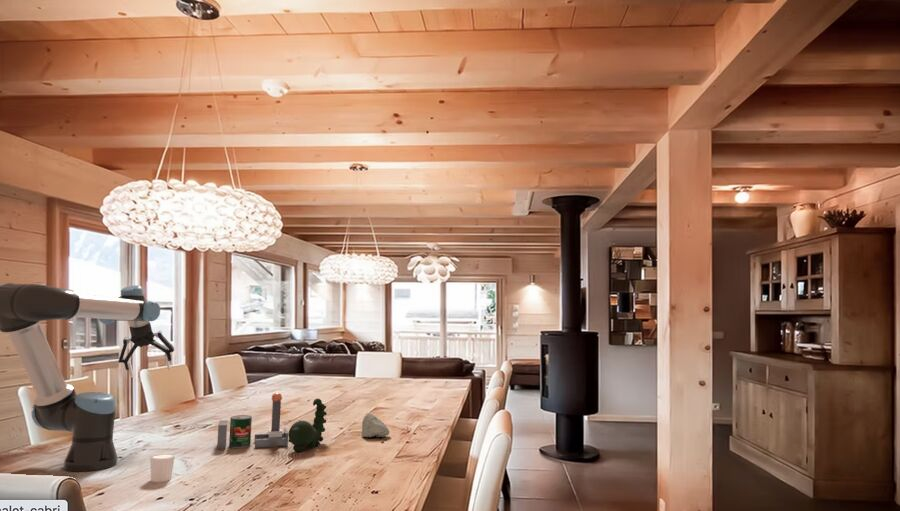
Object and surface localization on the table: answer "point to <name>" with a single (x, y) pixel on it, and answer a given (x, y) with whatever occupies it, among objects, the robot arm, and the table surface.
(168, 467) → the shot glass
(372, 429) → the decorative stone
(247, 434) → the canned tomato
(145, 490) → the table surface
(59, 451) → the table surface
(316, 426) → the toy figurine
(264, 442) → the press frame
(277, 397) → the ball-tipped square rod
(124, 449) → the table surface
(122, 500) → the table surface
